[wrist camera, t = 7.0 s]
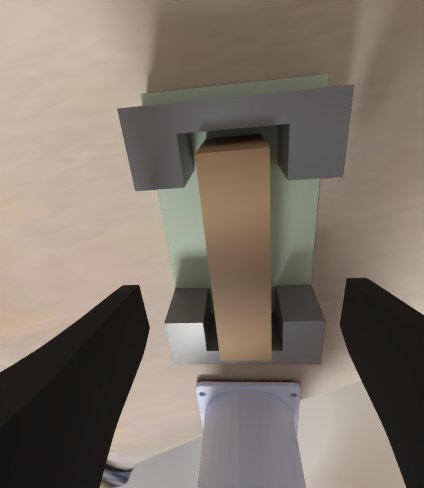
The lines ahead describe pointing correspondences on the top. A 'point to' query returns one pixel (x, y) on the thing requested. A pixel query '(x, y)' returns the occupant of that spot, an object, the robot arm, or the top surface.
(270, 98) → the end caps
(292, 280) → the base board
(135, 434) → the top surface
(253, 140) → the slat
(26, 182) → the top surface
